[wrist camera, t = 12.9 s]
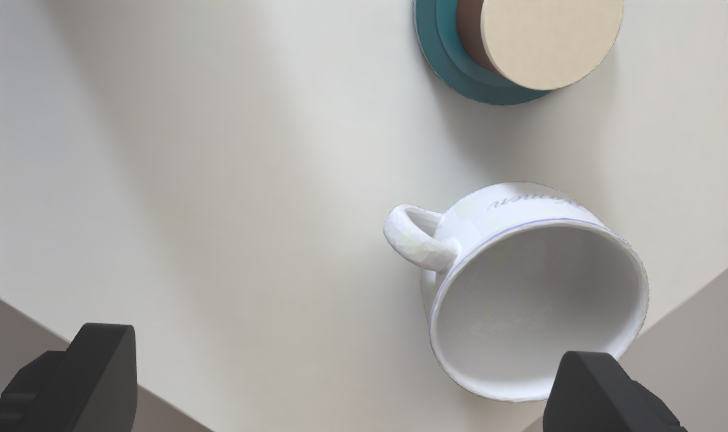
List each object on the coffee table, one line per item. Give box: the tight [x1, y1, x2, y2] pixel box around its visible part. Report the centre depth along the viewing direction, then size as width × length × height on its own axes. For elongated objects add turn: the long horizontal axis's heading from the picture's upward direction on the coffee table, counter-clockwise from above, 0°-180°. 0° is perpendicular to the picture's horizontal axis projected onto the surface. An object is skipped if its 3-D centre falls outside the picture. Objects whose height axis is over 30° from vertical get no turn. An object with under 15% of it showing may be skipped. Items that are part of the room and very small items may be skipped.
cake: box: [456, 0, 623, 90], centre depth 25 cm, size 6×6×5 cm
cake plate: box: [413, 0, 554, 105], centre depth 28 cm, size 10×10×1 cm
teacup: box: [383, 182, 649, 403], centre depth 30 cm, size 14×11×8 cm
